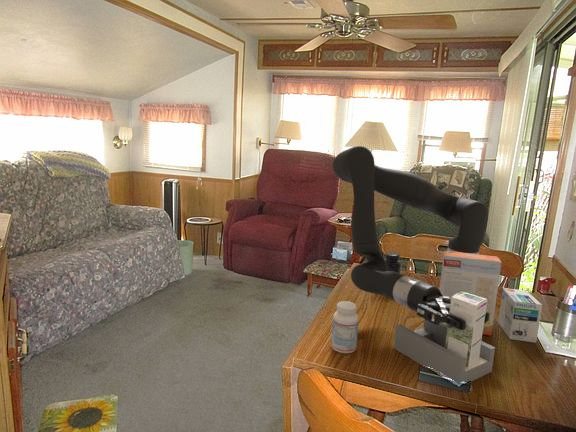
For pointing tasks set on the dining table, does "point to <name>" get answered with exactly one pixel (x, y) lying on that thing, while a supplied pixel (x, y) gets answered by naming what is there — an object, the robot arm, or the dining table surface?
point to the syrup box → (467, 326)
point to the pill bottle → (345, 328)
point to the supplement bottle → (393, 262)
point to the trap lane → (441, 352)
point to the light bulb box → (519, 315)
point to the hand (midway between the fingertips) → (476, 321)
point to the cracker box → (472, 279)
